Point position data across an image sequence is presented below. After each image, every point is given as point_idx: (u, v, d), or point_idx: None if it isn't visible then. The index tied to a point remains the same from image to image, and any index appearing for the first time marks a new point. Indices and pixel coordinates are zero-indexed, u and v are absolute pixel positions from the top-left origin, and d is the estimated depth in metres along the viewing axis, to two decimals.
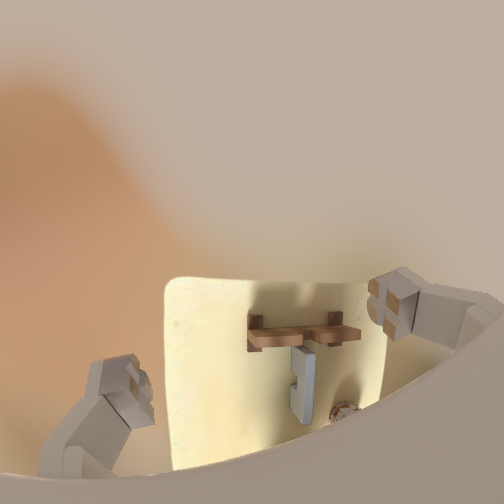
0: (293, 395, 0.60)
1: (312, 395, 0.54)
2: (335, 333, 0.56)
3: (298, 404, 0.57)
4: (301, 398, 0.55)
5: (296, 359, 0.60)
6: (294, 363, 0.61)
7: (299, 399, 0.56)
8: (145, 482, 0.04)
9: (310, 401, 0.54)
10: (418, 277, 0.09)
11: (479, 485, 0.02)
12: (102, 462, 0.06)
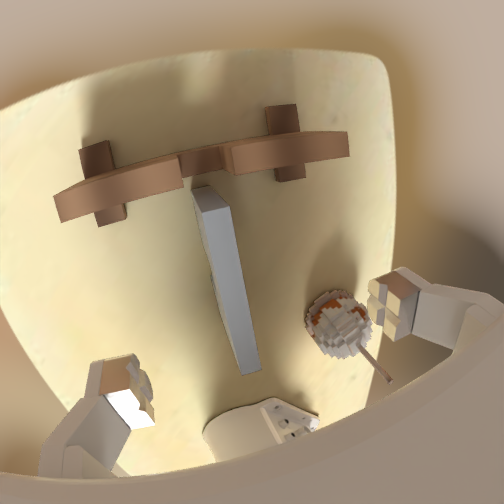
0: (218, 301, 0.31)
1: (246, 313, 0.24)
2: (277, 142, 0.20)
3: (226, 326, 0.28)
4: (225, 317, 0.26)
5: (199, 223, 0.27)
6: (201, 232, 0.28)
7: (224, 317, 0.27)
8: (145, 482, 0.04)
9: (245, 327, 0.25)
10: (418, 277, 0.09)
11: (479, 485, 0.02)
12: (102, 462, 0.06)
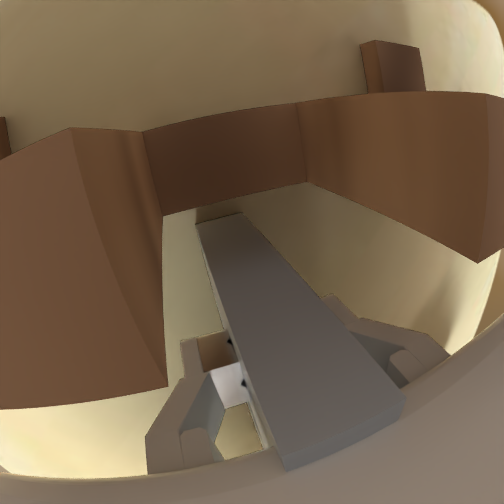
0: None
1: None
2: None
3: None
4: None
5: None
6: None
7: None
8: (145, 482, 0.04)
9: None
10: (345, 308, 0.08)
11: (479, 485, 0.02)
12: None
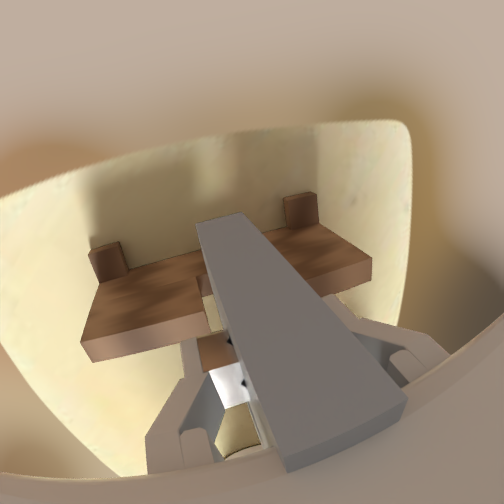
0: (259, 435, 0.14)
1: None
2: None
3: None
4: None
5: None
6: None
7: None
8: (145, 482, 0.04)
9: None
10: (345, 308, 0.08)
11: (479, 485, 0.02)
12: None
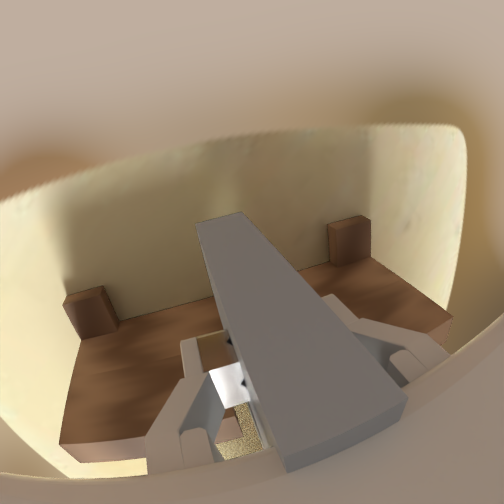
0: (258, 435, 0.14)
1: None
2: None
3: None
4: None
5: None
6: None
7: None
8: (145, 482, 0.04)
9: None
10: (345, 308, 0.08)
11: (479, 485, 0.02)
12: None
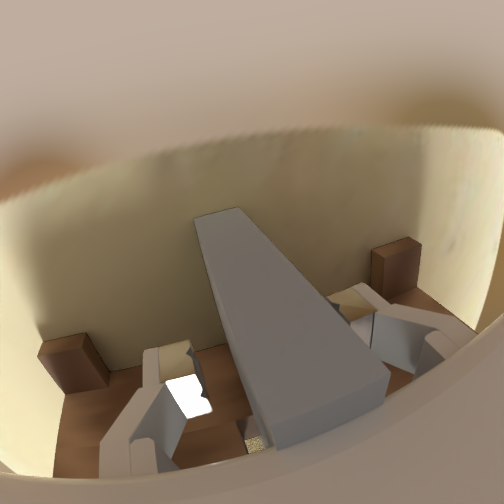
0: None
1: None
2: None
3: None
4: None
5: (222, 319, 0.10)
6: (223, 325, 0.12)
7: None
8: (145, 482, 0.04)
9: None
10: (377, 295, 0.08)
11: (479, 485, 0.02)
12: None
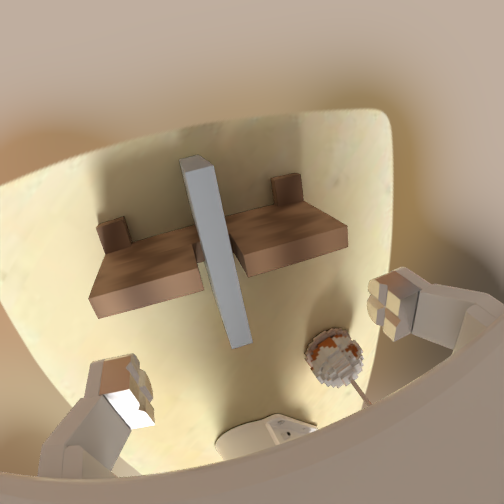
0: (208, 273, 0.30)
1: (234, 279, 0.23)
2: (284, 245, 0.23)
3: (215, 297, 0.27)
4: (213, 286, 0.25)
5: None
6: (189, 200, 0.27)
7: (213, 287, 0.26)
8: (145, 482, 0.04)
9: (233, 295, 0.24)
10: (418, 277, 0.09)
11: (479, 485, 0.02)
12: (102, 462, 0.06)
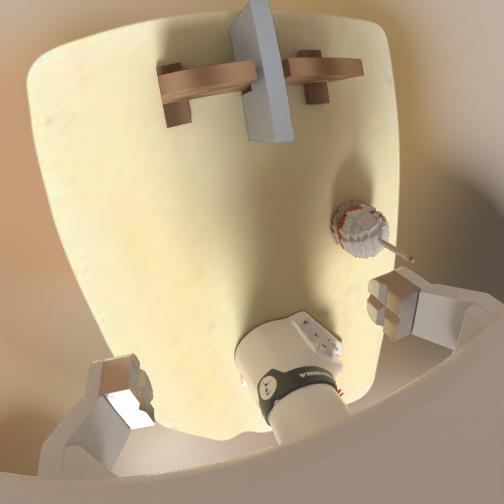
0: (249, 105, 0.32)
1: (281, 75, 0.25)
2: (316, 59, 0.25)
3: (259, 110, 0.30)
4: (261, 89, 0.27)
5: (239, 37, 0.28)
6: (238, 49, 0.29)
7: (258, 97, 0.28)
8: (145, 482, 0.04)
9: (280, 87, 0.26)
10: (418, 277, 0.09)
11: (479, 485, 0.02)
12: (102, 462, 0.06)
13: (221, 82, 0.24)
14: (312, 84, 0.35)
